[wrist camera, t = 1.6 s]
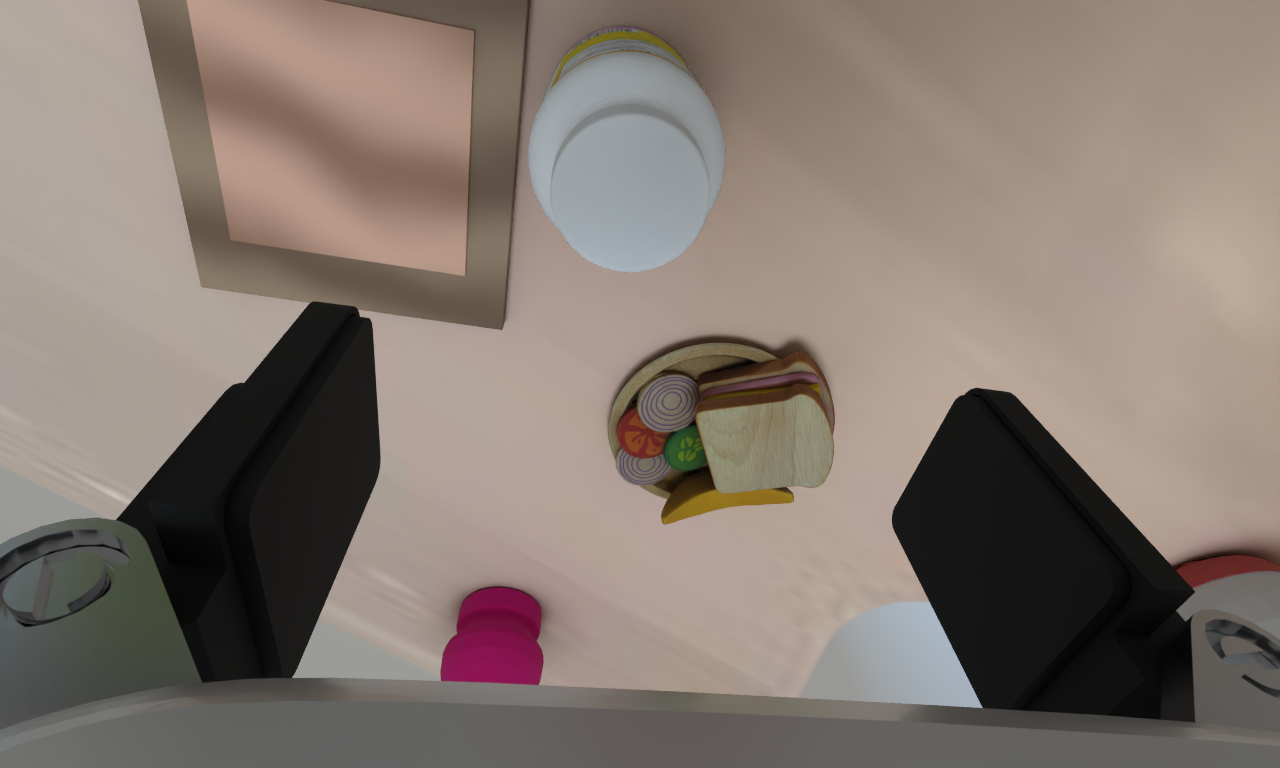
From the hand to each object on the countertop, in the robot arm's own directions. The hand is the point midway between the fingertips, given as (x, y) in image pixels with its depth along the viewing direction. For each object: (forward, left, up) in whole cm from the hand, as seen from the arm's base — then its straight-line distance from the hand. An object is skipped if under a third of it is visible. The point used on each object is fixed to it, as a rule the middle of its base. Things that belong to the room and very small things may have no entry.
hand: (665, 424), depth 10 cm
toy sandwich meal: (+16, +8, -23) cm, 30 cm away
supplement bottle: (0, 0, -23) cm, 23 cm away
